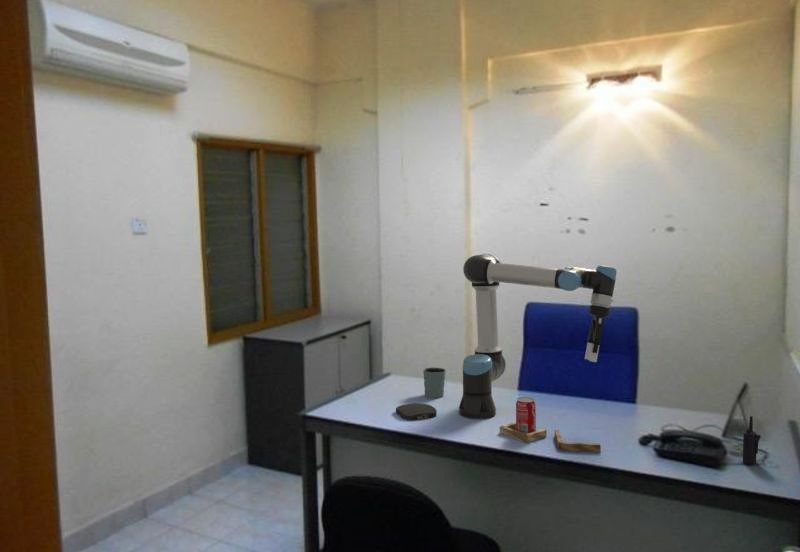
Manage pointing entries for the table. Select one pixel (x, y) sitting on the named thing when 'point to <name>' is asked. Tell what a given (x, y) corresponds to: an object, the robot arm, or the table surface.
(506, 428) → the wooden u-channel
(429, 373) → the grey-green cup
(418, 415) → the media streaming box
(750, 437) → the two-way radio
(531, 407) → the soda can
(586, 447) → the bracket
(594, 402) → the table surface
